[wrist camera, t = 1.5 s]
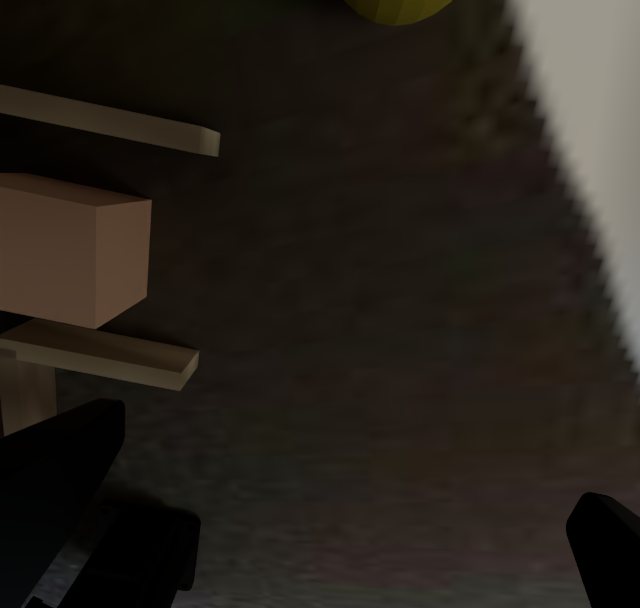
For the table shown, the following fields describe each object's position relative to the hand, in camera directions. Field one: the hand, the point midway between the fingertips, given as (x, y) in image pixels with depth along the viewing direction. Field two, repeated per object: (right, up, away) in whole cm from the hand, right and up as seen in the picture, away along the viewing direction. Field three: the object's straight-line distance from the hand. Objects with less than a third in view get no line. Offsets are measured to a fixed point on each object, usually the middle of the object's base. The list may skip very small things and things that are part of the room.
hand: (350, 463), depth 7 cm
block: (-12, +6, +12) cm, 18 cm away
